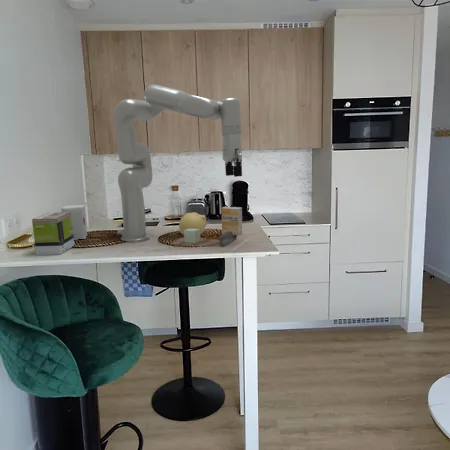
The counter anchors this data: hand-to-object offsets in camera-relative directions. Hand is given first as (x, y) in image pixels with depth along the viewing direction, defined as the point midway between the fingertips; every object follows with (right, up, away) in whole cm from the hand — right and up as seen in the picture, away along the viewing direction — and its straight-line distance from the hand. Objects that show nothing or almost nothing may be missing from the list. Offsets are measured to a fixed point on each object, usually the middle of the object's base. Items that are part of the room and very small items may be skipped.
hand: (233, 175), depth 168 cm
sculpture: (-18, -25, +27) cm, 40 cm away
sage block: (-17, -26, +9) cm, 33 cm away
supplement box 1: (-71, -26, +27) cm, 80 cm away
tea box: (-72, -30, +5) cm, 78 cm away
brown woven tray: (-13, -28, +8) cm, 32 cm away
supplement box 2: (0, -25, +23) cm, 34 cm away
